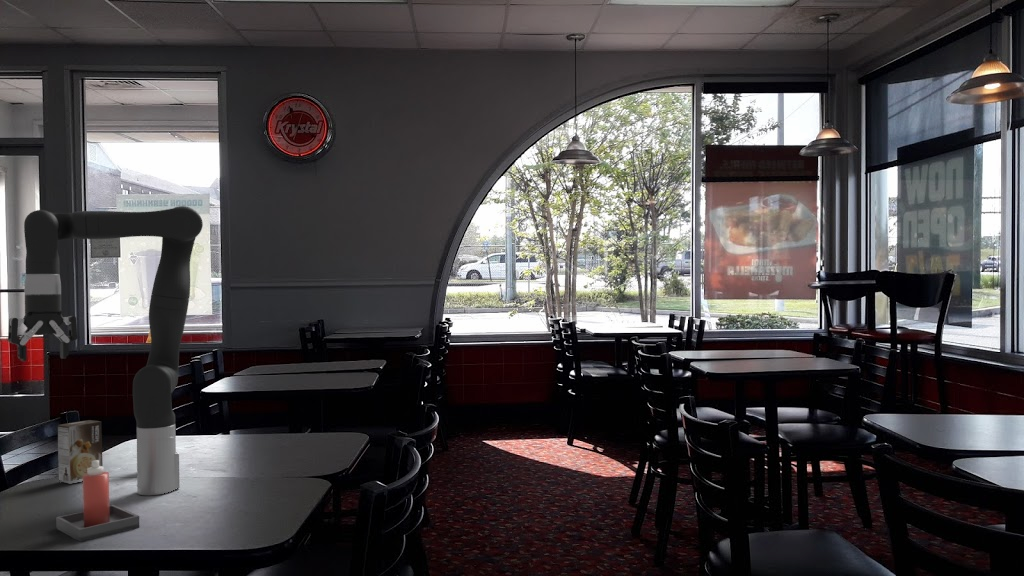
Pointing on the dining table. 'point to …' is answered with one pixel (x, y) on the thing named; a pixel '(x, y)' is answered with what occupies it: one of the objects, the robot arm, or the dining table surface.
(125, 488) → the dining table surface
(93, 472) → the bottle
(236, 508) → the dining table surface
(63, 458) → the coffee box
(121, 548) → the dining table surface
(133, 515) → the tray
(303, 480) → the dining table surface
